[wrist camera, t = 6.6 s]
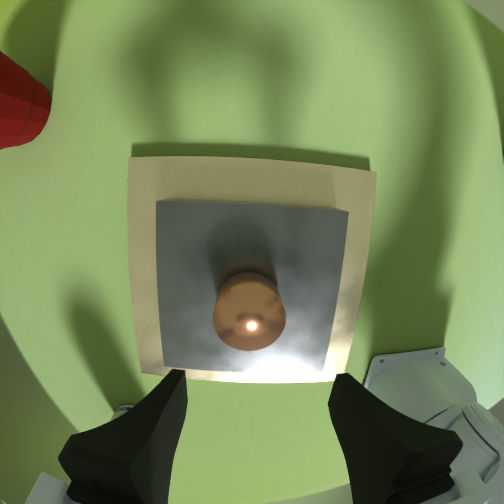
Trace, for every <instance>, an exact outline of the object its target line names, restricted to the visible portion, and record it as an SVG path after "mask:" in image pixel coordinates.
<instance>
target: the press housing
mask: <svg viewBox="0 0 504 504" xmlns="http://www.w3.org/2000/svg"><path fill="white" fill-rule="evenodd" d="M376 174H377V172H373V171H367V170H360V169H354V168H347V167H339V166H331V165H323V164H314V163H305V162H295V161H284V160H271V159H256V158H238V157H210V156H154V157H129V170H128V255H129V273H130V287H131V298H132V308H133V318H134V326H135V334H136V341H137V348H138V355H139V361H140V367H141V373H146V374H153V375H161V376H166V375H167V374H168V373H169V372H170V370H172V369H180V370H185V372H186V378H187V379H198V380H211V381H228V382H259V383H287V382H317V381H333V380H335V377H336V374H340V373H344V370H345V367H346V363H347V359H348V355H349V351H350V347H351V343H352V339H353V334H354V330H355V325H356V321H357V316H358V311H359V306H360V301H361V296H362V290H363V285H364V279H365V273H366V267H367V260H368V253H369V246H370V238H371V230H372V221H373V212H374V201H375V189H376ZM241 273H257V274H260V275H263V276H265V277H267V278H268V279H270V280H271V281H272V282H273V283H274V284H275V286H276V287H277V289H278V291H279V294H280V297H281V300H282V303H283V306H284V309H285V313H286V324H285V328H284V330H283V332H282V334H281V335H280V337H279V338H278V339H277V340H276V341H275V342H274V343H273V344H271V345H270V346H268V347H266V348H263V349H260V350H256V351H242V350H238V349H235V348H232V347H230V346H229V345H227V344H226V343H224V342H223V341H222V340H221V339H220V338H219V336H218V335H217V333H216V331H215V329H214V325H213V313H214V308H215V303H216V299H217V294H218V292H219V289H220V288H221V286H222V285H223V284H224V283H225V282H226V281H227V280H228V279H229V278H231V277H233V276H235V275H237V274H241Z"/></svg>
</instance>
